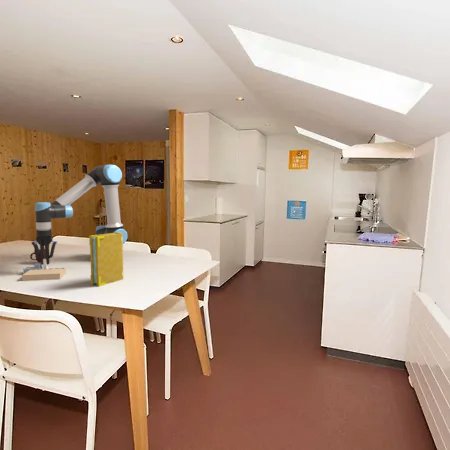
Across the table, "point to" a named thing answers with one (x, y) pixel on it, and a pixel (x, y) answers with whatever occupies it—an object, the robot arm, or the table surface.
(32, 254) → the mug
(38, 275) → the board
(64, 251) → the table surface
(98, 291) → the table surface
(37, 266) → the stub
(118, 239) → the book
